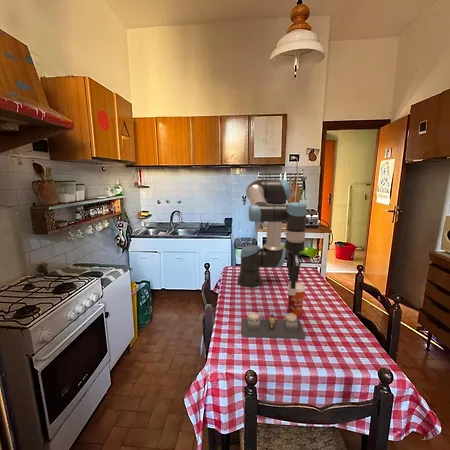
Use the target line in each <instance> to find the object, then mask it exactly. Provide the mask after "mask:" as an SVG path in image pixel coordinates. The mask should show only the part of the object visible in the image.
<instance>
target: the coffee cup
mask: <svg viewBox="0 0 450 450" xmlns="http://www.w3.org/2000/svg"><path fill="white" fill-rule="evenodd" d="M288 290H289V284H288V286H287V291H288ZM305 291H306V288H305V285H303V284H302V283H299V282H296V294H295V295H289V294H288V293H287V299H288V302H287V303H288V304H287V307H288V308H287V309H288V310H287V312H288V313H293V314H295V315H296V316H297V319H299V318H301V316H302V311H303V305H304V304H303V303H304V298H305V297H304V295H305Z"/></svg>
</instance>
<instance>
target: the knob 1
mask: <svg viewBox="0 0 450 450" xmlns="http://www.w3.org/2000/svg"><path fill="white" fill-rule="evenodd" d="M248 318H249V319H250V320H251V321H256V320H258V319H260V314H259V313H258V312H255V311H251V312H249V313H248V315H247V319H248Z"/></svg>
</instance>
